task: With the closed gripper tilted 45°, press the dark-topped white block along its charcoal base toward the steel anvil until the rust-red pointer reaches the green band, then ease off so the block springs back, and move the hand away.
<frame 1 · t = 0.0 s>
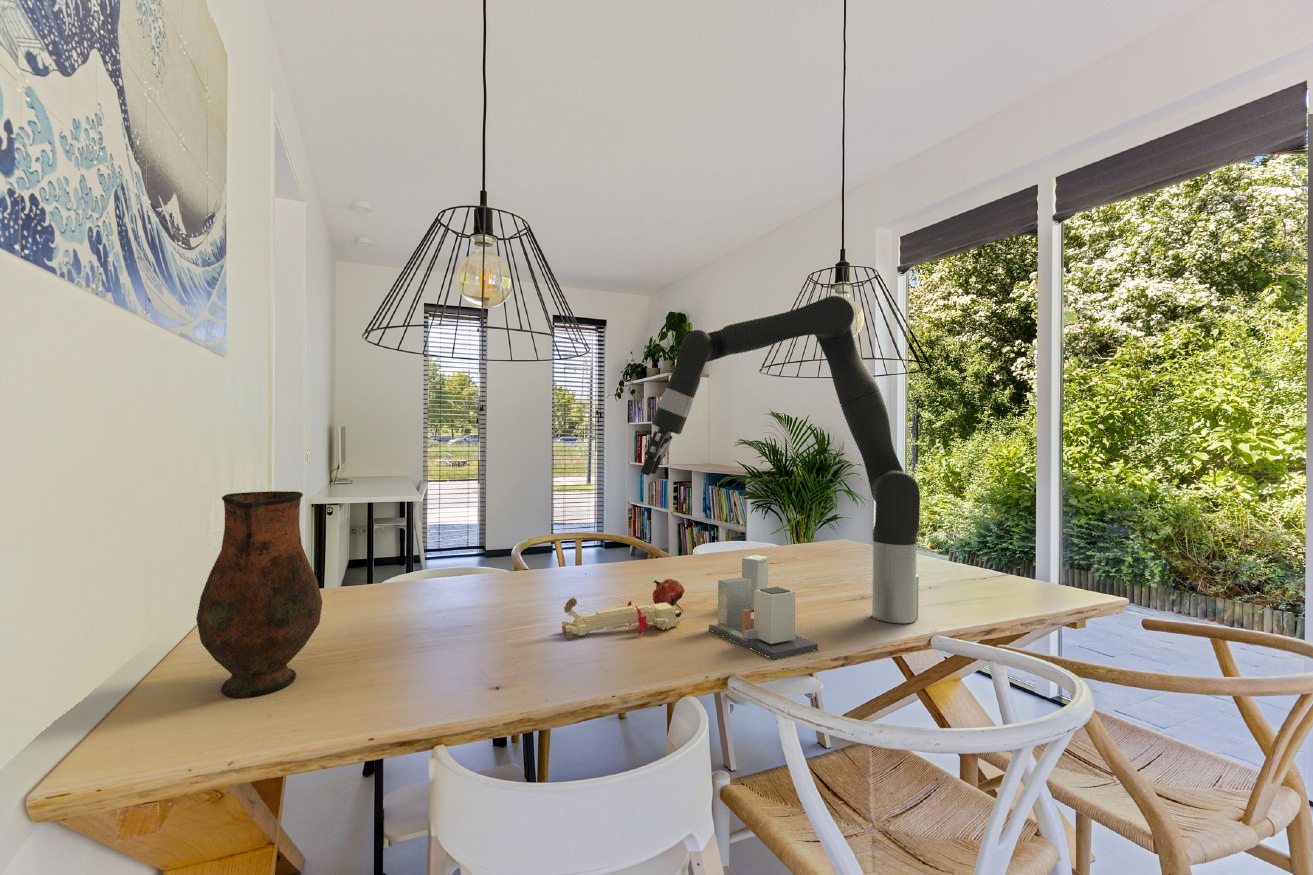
hand: (648, 473, 151), 31 cm above the table, tool tilted 20°, fingers open, 8 cm apart
dark-topped white block: (769, 614, 120), point 6 cm above the table, slide at 0.0 cm
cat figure: (624, 632, 129), on the table
gauge base: (760, 639, 124), on the table
pomegranate: (669, 610, 146), on the table
brown clay vase: (264, 680, 100), on the table
peak pointer: (746, 623, 121), point 4 cm above the table, slide at 0.0 cm
skincare box: (754, 608, 149), on the table
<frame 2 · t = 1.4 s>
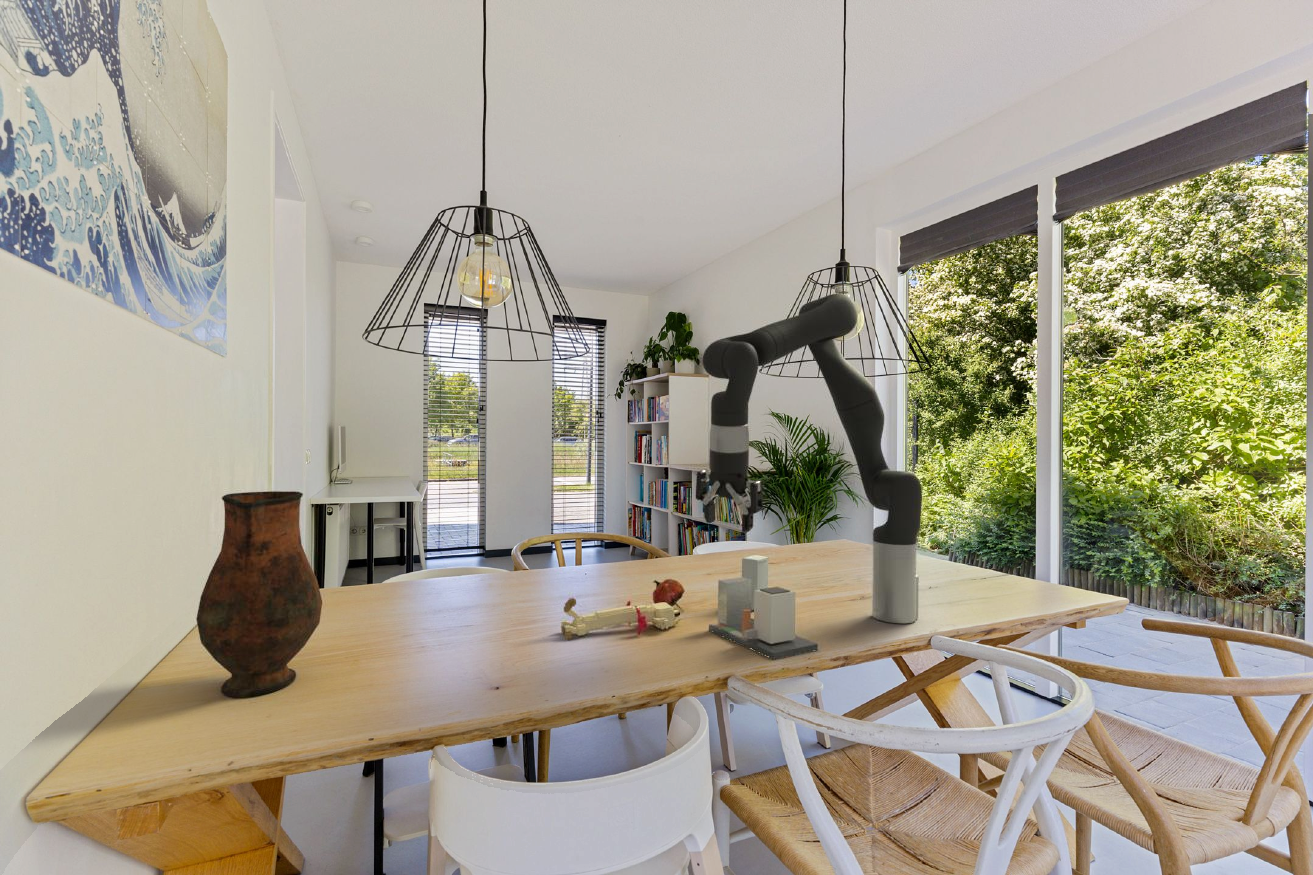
hand: (728, 526, 123), 23 cm above the table, tool pointing down, fingers open, 8 cm apart
nothing on the table moved.
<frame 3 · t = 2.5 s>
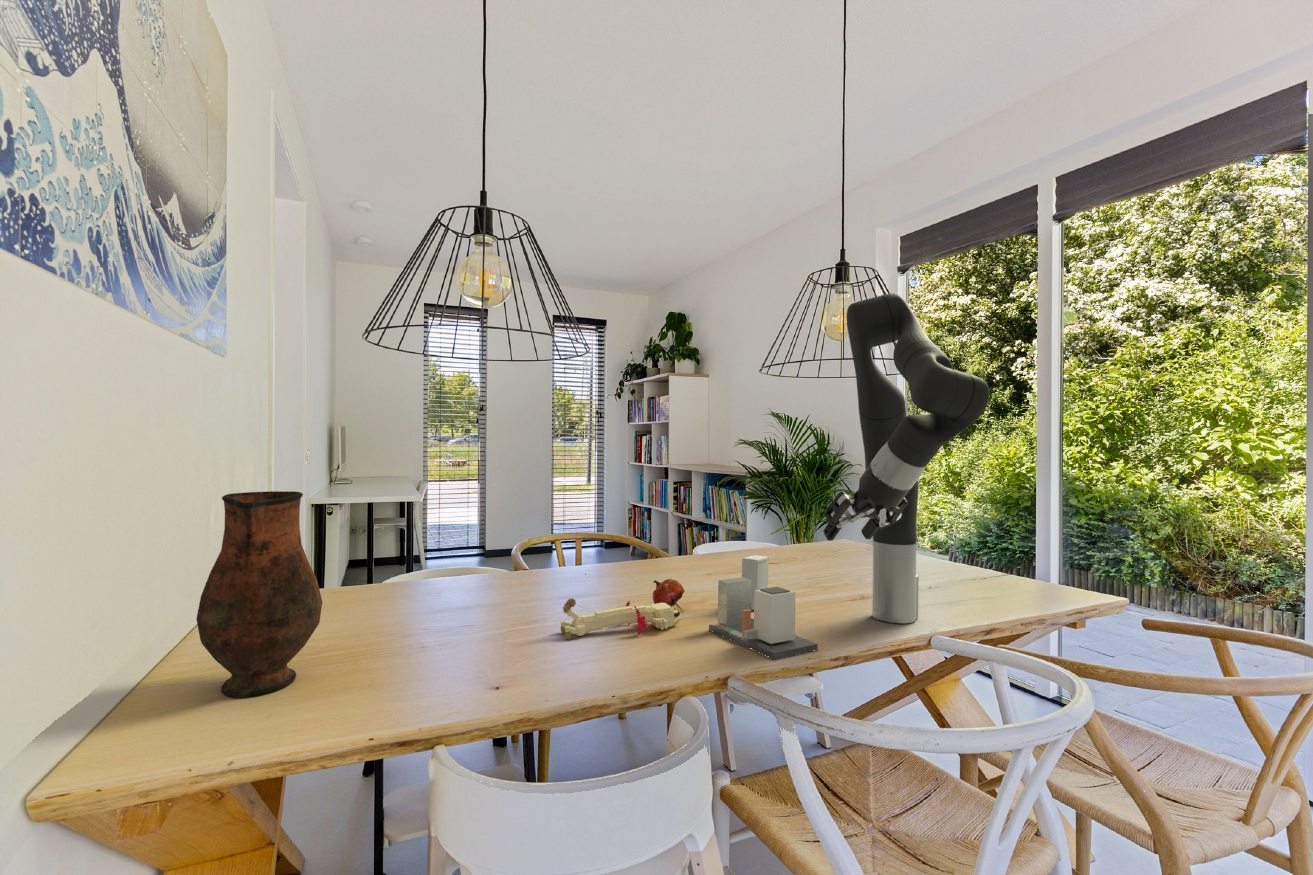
hand: (846, 536, 113), 22 cm above the table, tool tilted 40°, fingers open, 8 cm apart
nothing on the table moved.
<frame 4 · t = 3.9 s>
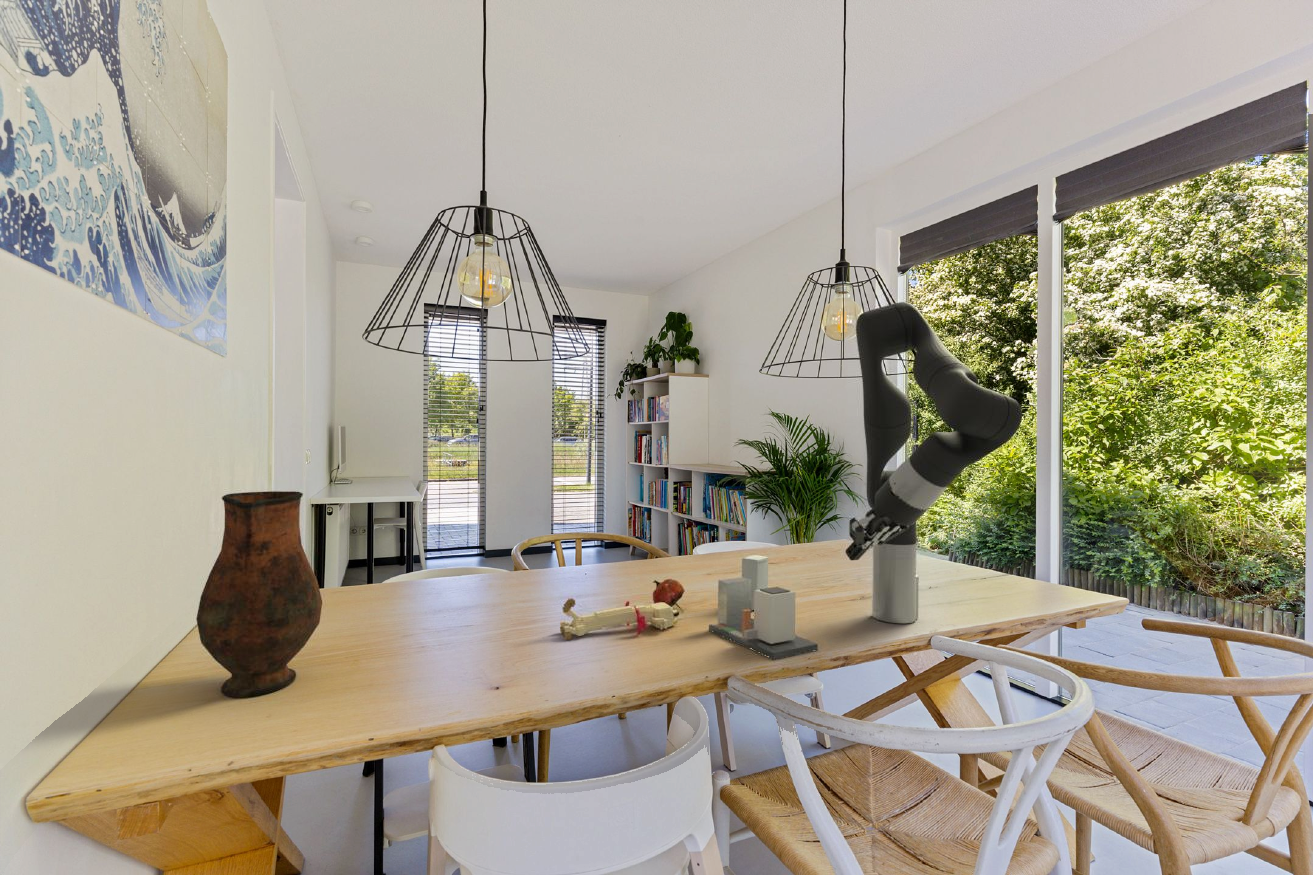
hand: (850, 556, 110), 19 cm above the table, tool tilted 45°, fingers closed
nothing on the table moved.
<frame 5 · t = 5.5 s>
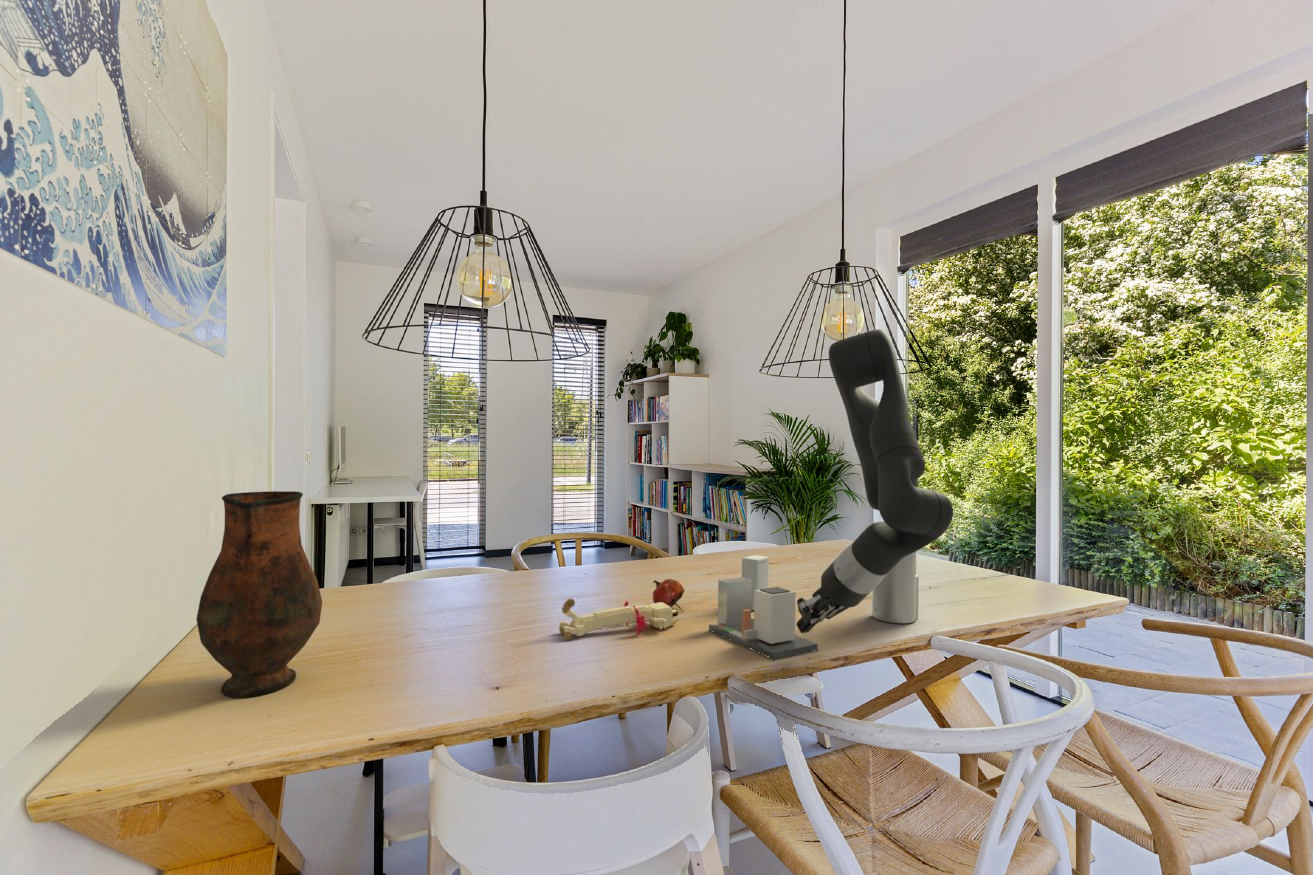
hand: (801, 628, 114), 5 cm above the table, tool tilted 45°, fingers closed
nothing on the table moved.
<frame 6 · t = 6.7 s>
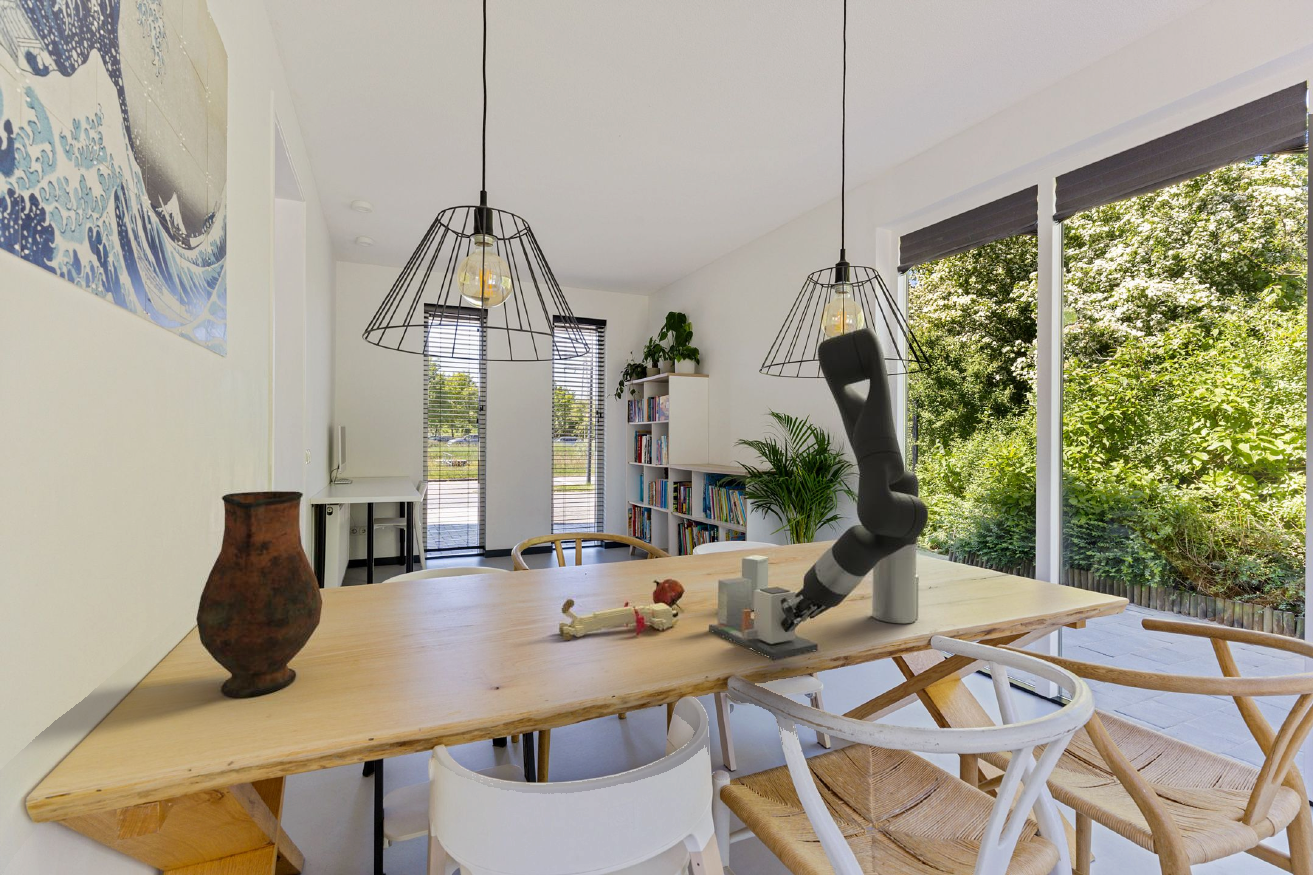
hand: (785, 627, 118), 4 cm above the table, tool tilted 45°, fingers closed
dark-topped white block: (769, 614, 120), point 6 cm above the table, slide at 0.0 cm, touching gripper
everything else where it was.
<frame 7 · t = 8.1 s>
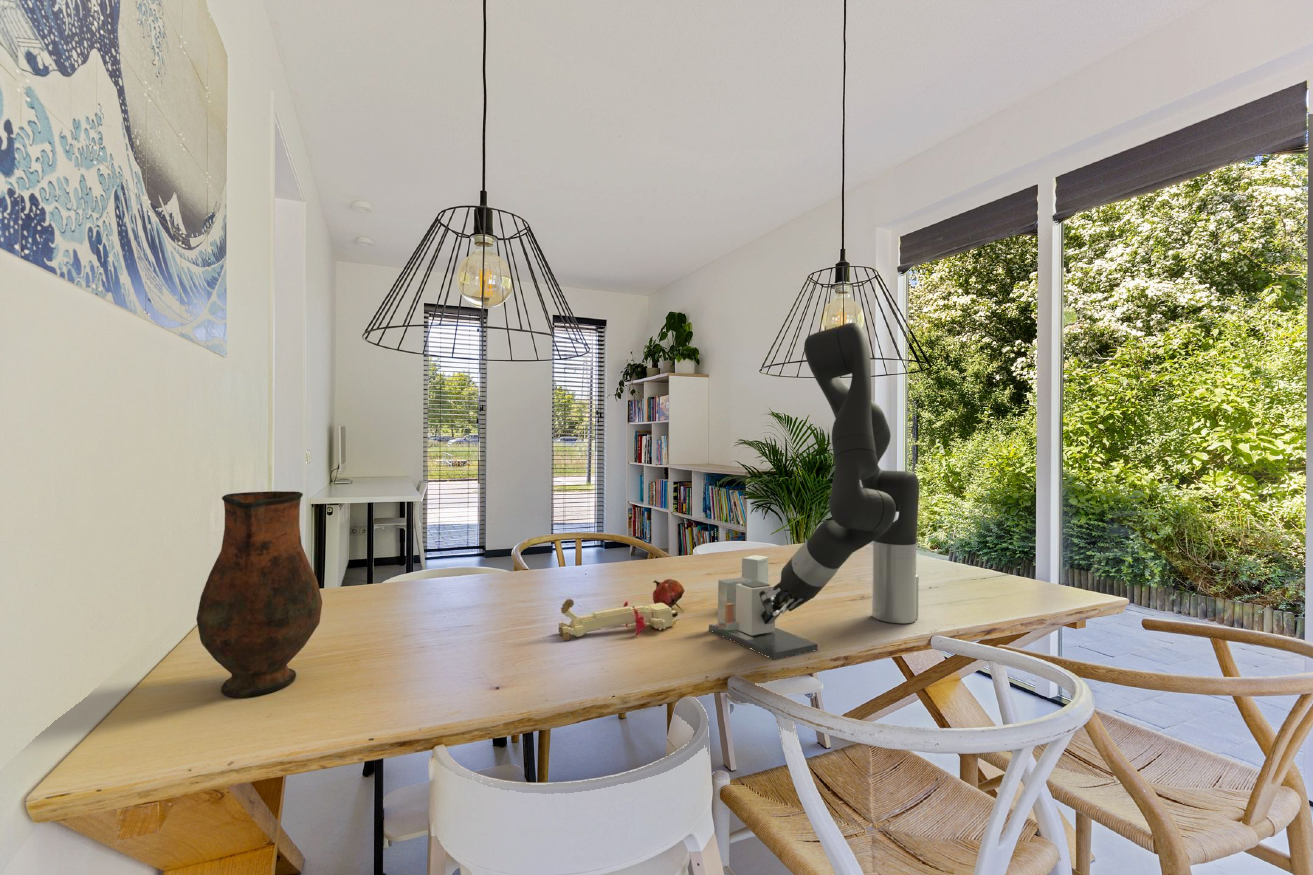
hand: (765, 619, 123), 4 cm above the table, tool tilted 45°, fingers closed
dark-topped white block: (750, 607, 125), point 6 cm above the table, slide at 5.7 cm, touching gripper, peak pointer
peak pointer: (729, 616, 126), point 4 cm above the table, slide at 5.4 cm, touching dark-topped white block
everything else where it was.
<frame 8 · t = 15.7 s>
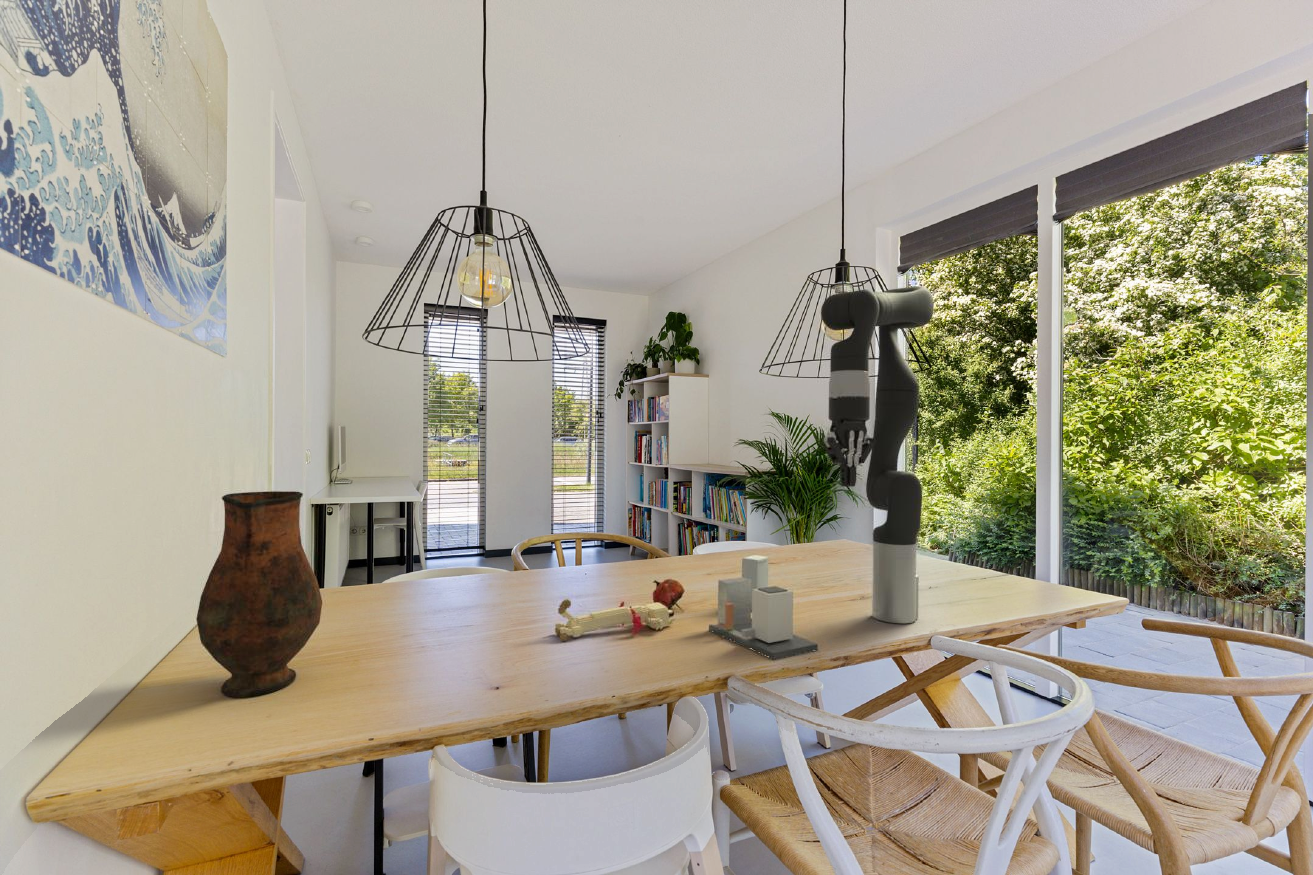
hand: (848, 486, 120), 31 cm above the table, tool pointing down, fingers closed
dark-topped white block: (767, 613, 121), point 6 cm above the table, slide at 0.6 cm
peak pointer: (729, 616, 126), point 4 cm above the table, slide at 5.4 cm
at the end: peak pointer slide at 5.4 cm; dark-topped white block slide at 0.6 cm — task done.
